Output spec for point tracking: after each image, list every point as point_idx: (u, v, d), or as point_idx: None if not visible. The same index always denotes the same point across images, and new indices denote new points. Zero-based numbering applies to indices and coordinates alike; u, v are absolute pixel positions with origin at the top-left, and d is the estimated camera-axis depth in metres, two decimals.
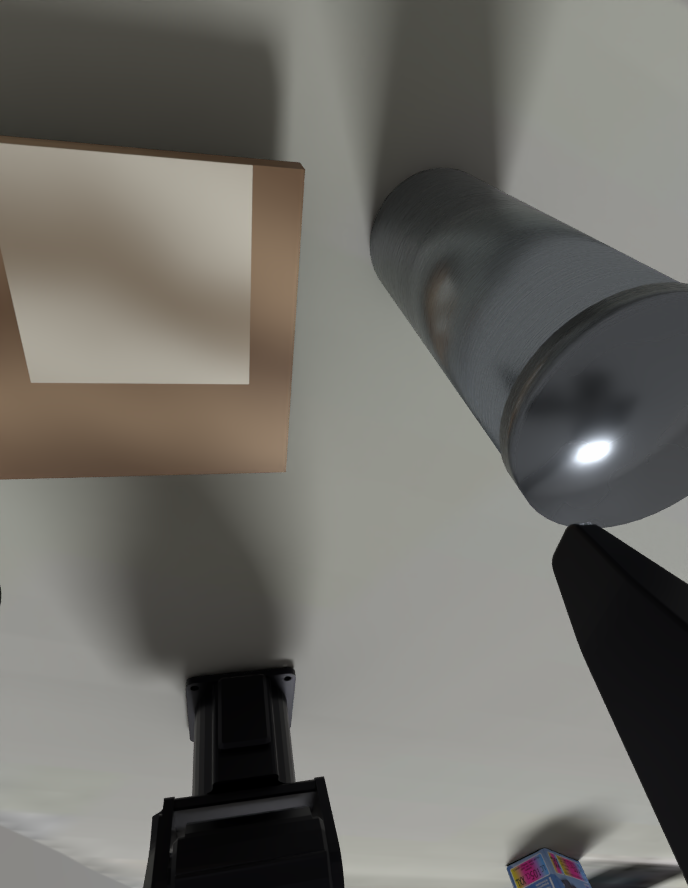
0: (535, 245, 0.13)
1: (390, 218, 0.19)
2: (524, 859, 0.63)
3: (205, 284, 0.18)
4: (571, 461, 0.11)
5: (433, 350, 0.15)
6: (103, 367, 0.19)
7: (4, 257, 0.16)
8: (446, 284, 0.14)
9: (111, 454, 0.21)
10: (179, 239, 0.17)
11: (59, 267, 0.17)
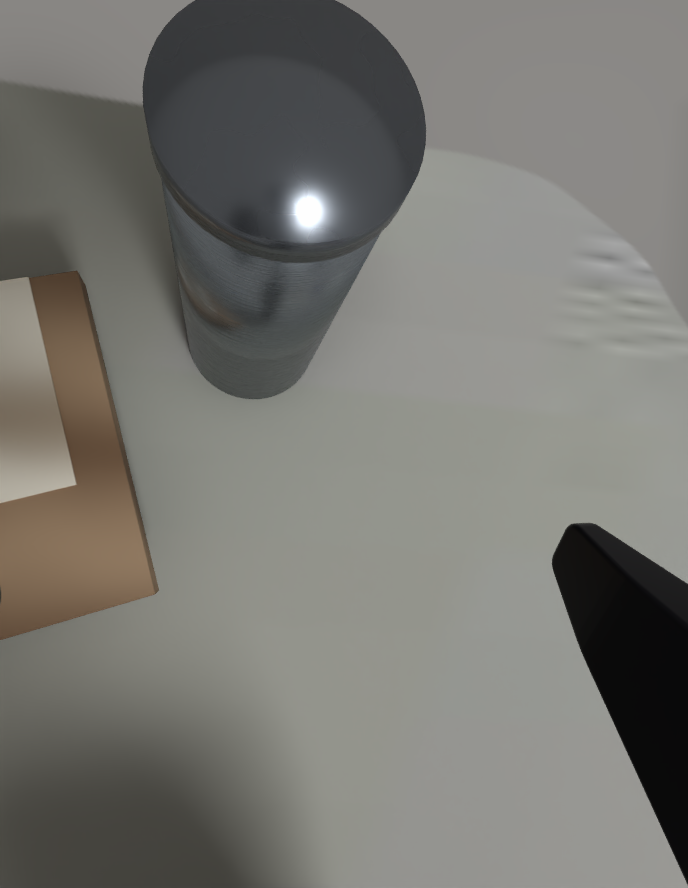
0: None
1: None
2: None
3: (6, 389, 0.18)
4: (231, 154, 0.10)
5: (194, 302, 0.15)
6: None
7: None
8: None
9: None
10: None
11: None
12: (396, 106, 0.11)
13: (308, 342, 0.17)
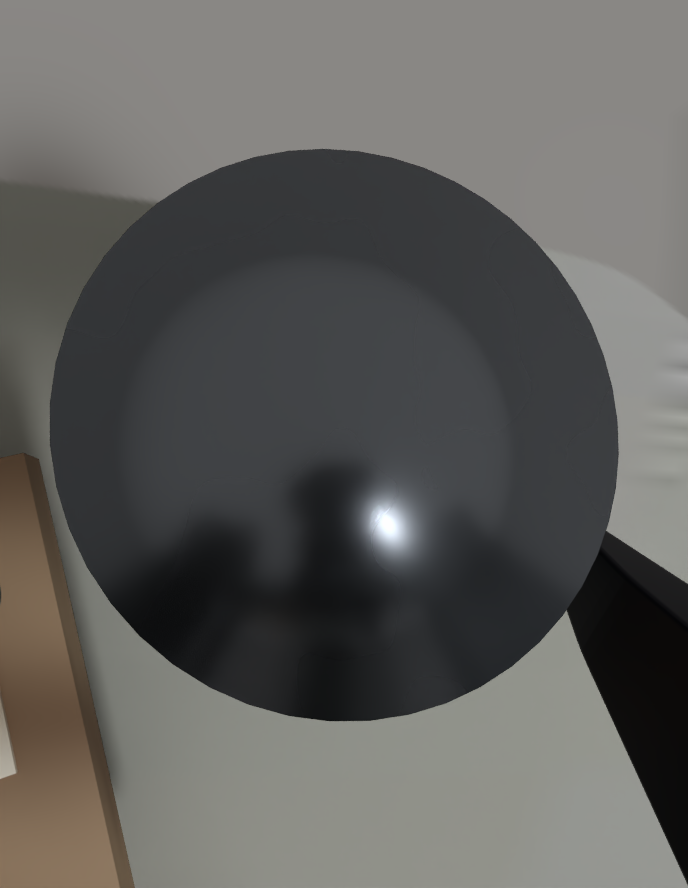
0: None
1: None
2: None
3: None
4: (242, 534, 0.05)
5: None
6: None
7: None
8: None
9: None
10: None
11: None
12: (560, 379, 0.06)
13: None
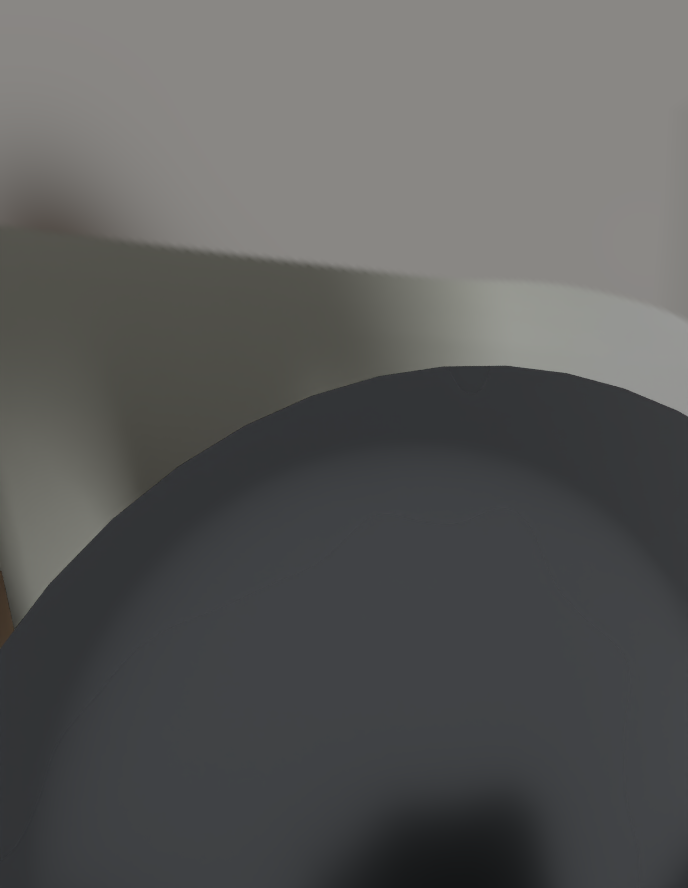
0: None
1: None
2: None
3: None
4: None
5: None
6: None
7: None
8: None
9: None
10: None
11: None
12: None
13: None
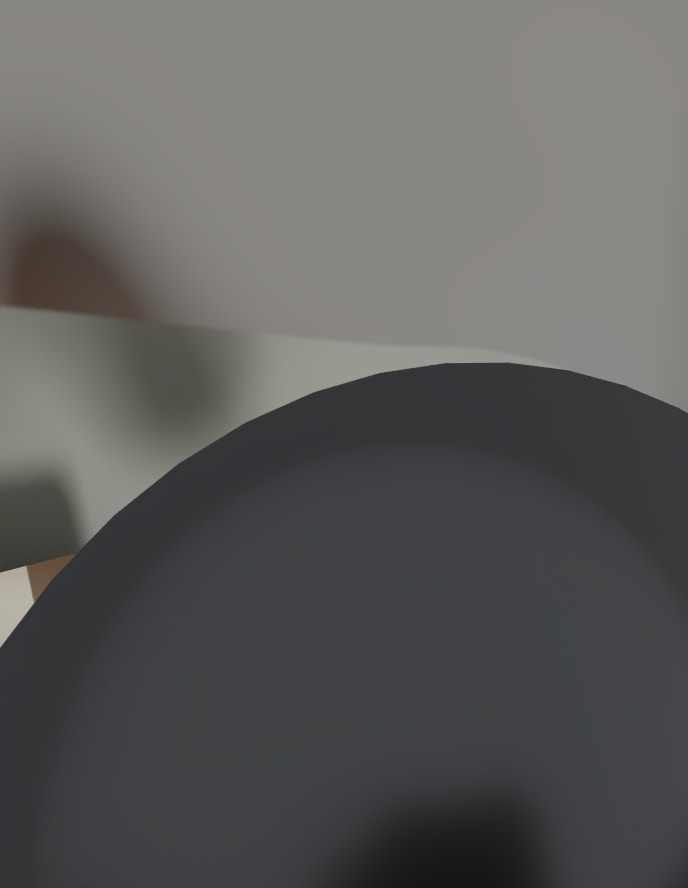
0: None
1: None
2: None
3: None
4: None
5: None
6: None
7: None
8: None
9: None
10: None
11: None
12: None
13: None
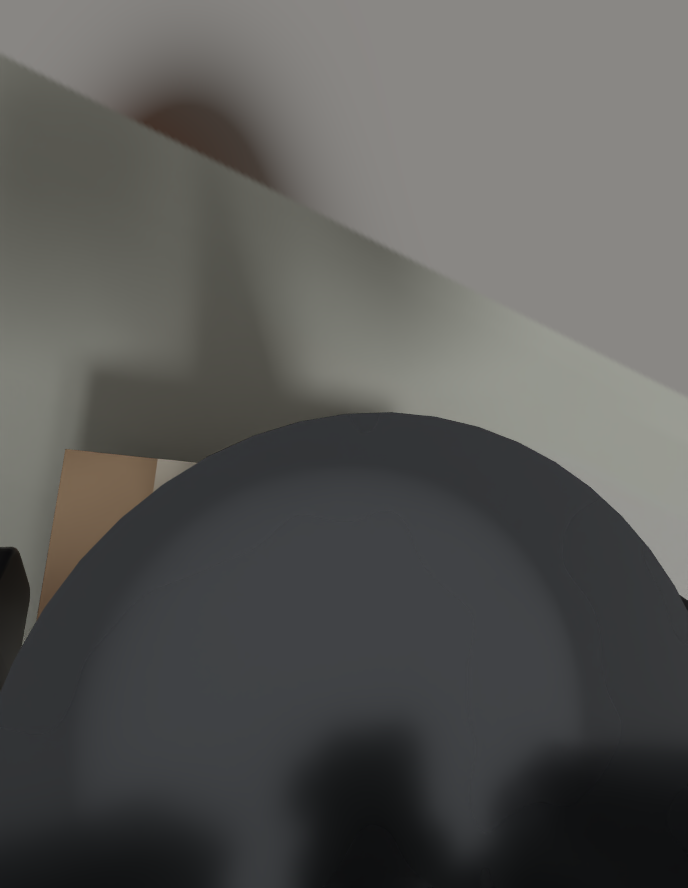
0: None
1: None
2: None
3: None
4: None
5: None
6: None
7: None
8: None
9: None
10: None
11: None
12: (657, 713, 0.04)
13: None
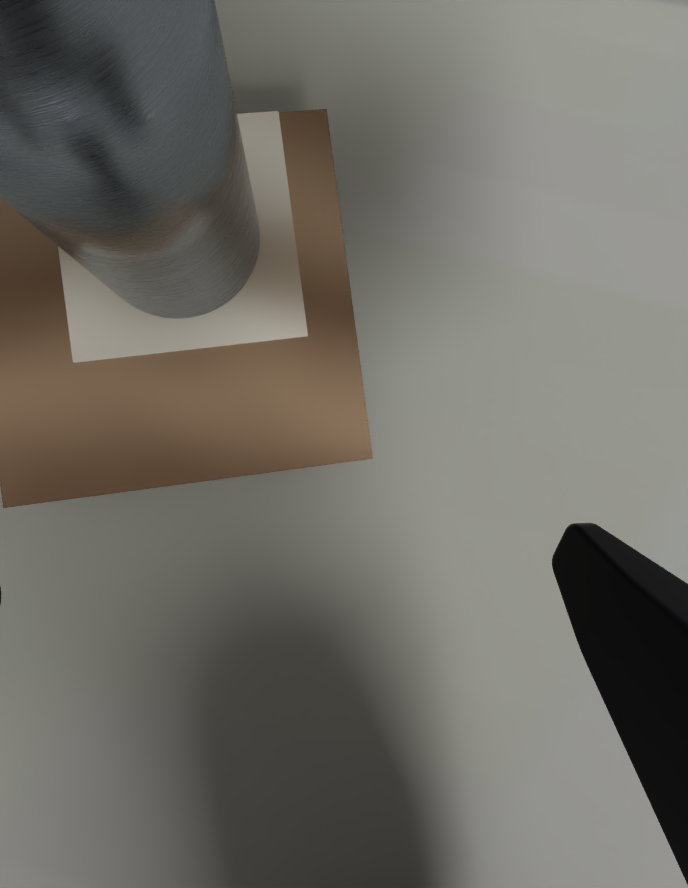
0: None
1: None
2: None
3: None
4: None
5: None
6: (149, 336, 0.17)
7: None
8: None
9: (159, 453, 0.17)
10: None
11: None
12: None
13: (199, 208, 0.11)
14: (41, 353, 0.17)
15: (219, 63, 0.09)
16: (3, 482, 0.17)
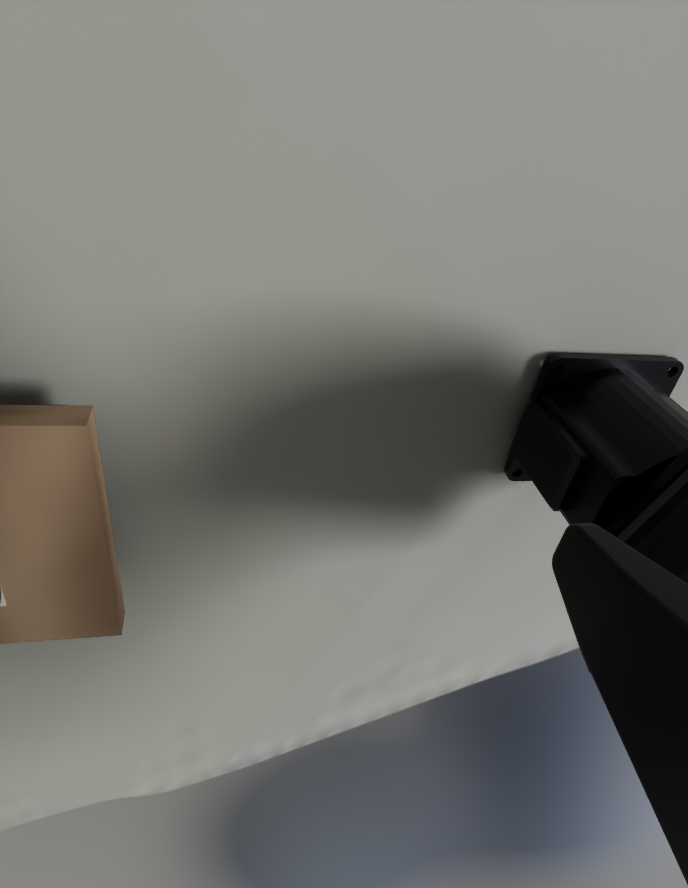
0: None
1: None
2: None
3: None
4: None
5: None
6: None
7: None
8: None
9: (81, 563, 0.22)
10: None
11: None
12: None
13: None
14: (1, 619, 0.23)
15: None
16: (103, 634, 0.24)
